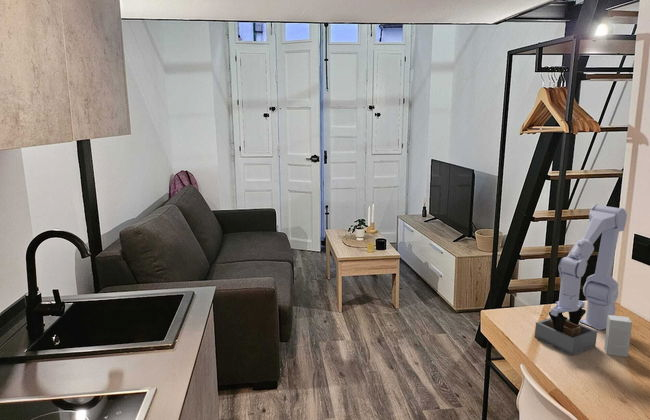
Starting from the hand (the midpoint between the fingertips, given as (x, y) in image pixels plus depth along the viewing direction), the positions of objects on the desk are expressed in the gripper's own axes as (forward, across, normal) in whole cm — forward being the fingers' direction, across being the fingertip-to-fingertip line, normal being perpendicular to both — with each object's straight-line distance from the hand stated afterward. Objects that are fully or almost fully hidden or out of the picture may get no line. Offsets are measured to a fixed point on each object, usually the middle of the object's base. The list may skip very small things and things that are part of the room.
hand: (565, 330), depth 158 cm
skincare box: (+4, -8, +13) cm, 15 cm away
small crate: (+3, 0, 0) cm, 3 cm away
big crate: (+4, 0, 0) cm, 4 cm away
